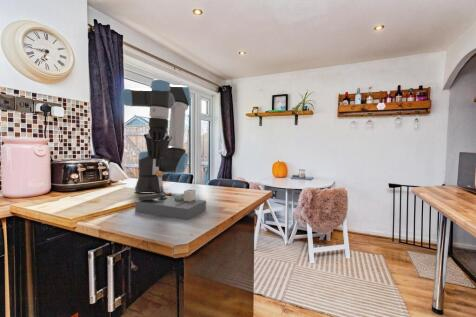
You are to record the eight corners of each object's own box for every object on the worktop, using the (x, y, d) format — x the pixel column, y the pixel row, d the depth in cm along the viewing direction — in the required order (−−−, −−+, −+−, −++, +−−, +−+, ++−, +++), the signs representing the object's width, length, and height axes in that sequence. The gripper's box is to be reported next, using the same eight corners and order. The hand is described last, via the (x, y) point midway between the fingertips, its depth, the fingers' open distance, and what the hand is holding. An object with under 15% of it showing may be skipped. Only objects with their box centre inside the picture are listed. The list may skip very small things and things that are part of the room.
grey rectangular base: (158, 203, 107) (158, 190, 107) (205, 210, 99) (206, 195, 99) (135, 211, 94) (135, 196, 94) (187, 219, 86) (187, 203, 86)
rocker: (147, 198, 99) (146, 194, 99) (160, 197, 97) (160, 192, 97) (138, 200, 95) (137, 196, 95) (152, 199, 92) (152, 195, 92)
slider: (189, 198, 100) (189, 188, 100) (195, 199, 99) (195, 189, 99) (183, 200, 97) (183, 190, 96) (190, 201, 96) (190, 191, 95)
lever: (162, 197, 102) (158, 170, 102) (167, 196, 101) (163, 170, 101) (158, 198, 99) (154, 171, 99) (163, 197, 99) (159, 170, 99)
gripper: (140, 116, 98) (137, 173, 99) (165, 117, 93) (161, 177, 94) (152, 118, 105) (149, 172, 106) (176, 119, 100) (173, 175, 102)
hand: (155, 174), depth 100 cm, fingers closed
